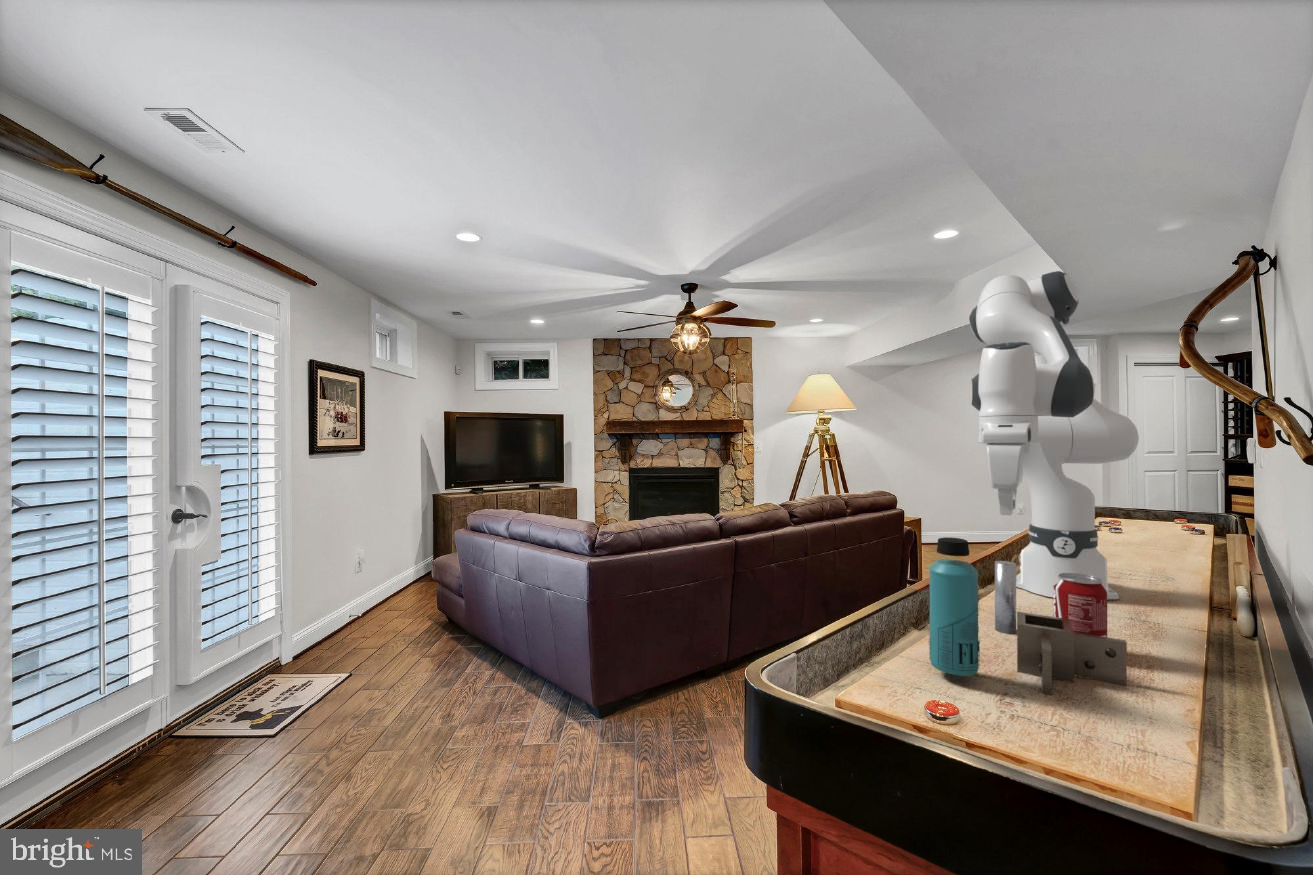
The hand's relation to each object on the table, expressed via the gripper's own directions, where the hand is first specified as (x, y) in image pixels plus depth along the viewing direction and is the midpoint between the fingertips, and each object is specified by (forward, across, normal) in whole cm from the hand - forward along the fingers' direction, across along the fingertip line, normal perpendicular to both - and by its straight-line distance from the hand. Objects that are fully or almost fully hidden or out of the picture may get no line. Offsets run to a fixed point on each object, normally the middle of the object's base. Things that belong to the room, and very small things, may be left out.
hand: (1008, 511), depth 95 cm
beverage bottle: (+22, +25, -5) cm, 33 cm away
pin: (+21, -1, 0) cm, 21 cm away
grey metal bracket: (+21, +17, +8) cm, 29 cm away
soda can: (+22, +4, +10) cm, 24 cm away
